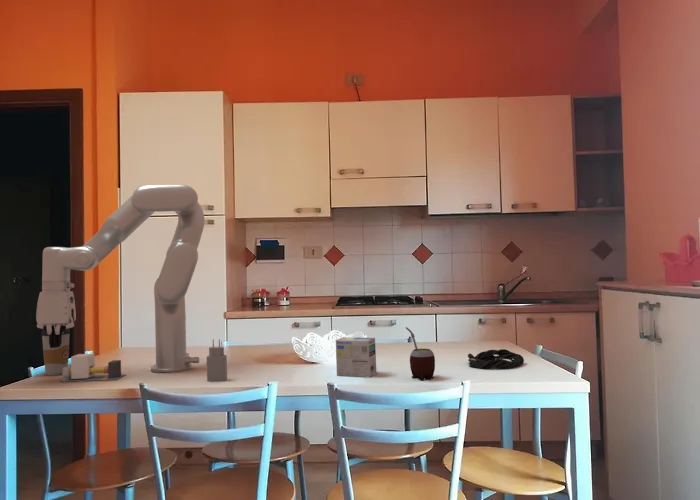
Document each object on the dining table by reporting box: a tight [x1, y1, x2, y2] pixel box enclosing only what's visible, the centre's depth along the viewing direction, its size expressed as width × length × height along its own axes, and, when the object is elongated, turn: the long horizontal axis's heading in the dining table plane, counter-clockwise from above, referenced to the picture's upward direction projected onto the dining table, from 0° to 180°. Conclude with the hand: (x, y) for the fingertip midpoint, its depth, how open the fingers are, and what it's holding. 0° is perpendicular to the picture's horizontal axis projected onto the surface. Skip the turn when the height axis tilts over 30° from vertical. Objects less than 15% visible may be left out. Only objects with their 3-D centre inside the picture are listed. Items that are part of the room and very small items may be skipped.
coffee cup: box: [41, 325, 71, 376], centre depth 175 cm, size 8×8×15 cm
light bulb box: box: [335, 336, 377, 378], centre depth 160 cm, size 11×7×11 cm, turn 71°
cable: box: [467, 348, 525, 370], centre depth 168 cm, size 17×14×4 cm
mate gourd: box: [405, 326, 436, 382], centre depth 152 cm, size 8×8×15 cm
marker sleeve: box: [70, 353, 96, 379], centre depth 165 cm, size 5×5×7 cm
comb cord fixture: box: [59, 359, 127, 383], centre depth 165 cm, size 17×7×5 cm, turn 92°
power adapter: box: [206, 339, 228, 383], centre depth 158 cm, size 3×5×12 cm, turn 86°
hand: (55, 347), depth 164 cm, fingers closed
